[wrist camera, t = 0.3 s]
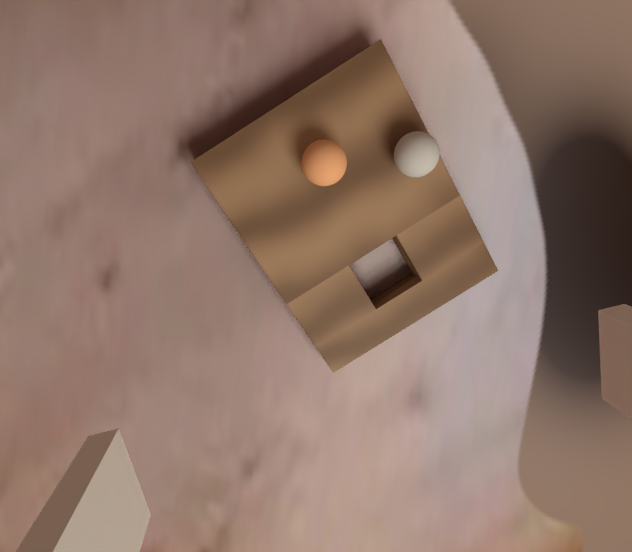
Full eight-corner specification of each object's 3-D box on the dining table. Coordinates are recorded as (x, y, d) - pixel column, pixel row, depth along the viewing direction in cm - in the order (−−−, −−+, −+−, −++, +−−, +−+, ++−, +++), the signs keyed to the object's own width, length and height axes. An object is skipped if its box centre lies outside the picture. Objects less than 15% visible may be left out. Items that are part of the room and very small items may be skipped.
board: (195, 162, 35) (190, 162, 32) (372, 48, 34) (380, 39, 32) (328, 360, 40) (333, 372, 38) (483, 264, 39) (498, 270, 37)
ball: (291, 155, 33) (294, 154, 30) (328, 131, 33) (335, 128, 30) (314, 193, 34) (319, 196, 31) (350, 170, 34) (359, 171, 31)
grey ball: (381, 147, 34) (393, 146, 30) (417, 124, 33) (433, 120, 30) (401, 184, 34) (414, 186, 31) (437, 162, 34) (454, 162, 31)
